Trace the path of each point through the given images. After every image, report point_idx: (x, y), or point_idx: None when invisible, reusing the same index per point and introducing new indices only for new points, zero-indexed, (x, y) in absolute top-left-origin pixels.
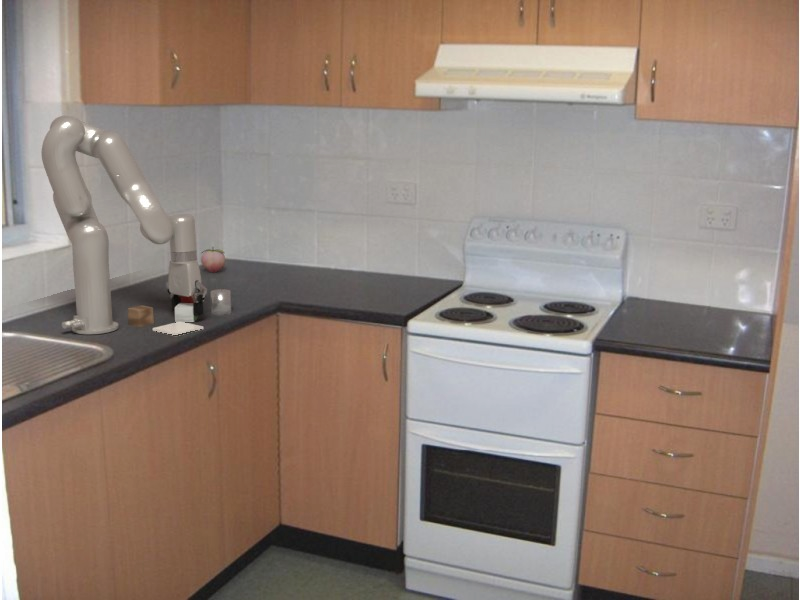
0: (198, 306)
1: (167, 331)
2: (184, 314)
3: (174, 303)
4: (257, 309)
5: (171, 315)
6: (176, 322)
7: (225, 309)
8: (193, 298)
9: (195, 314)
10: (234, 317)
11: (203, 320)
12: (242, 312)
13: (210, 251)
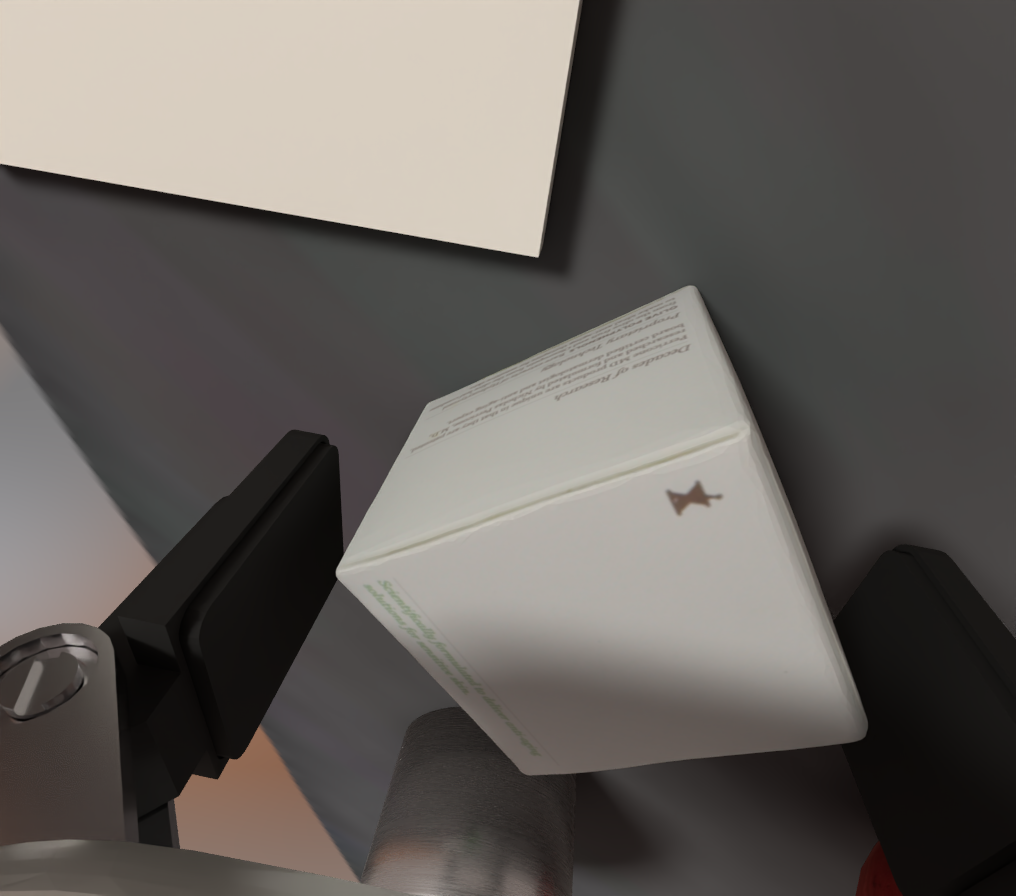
0: (145, 584)
1: None
2: (515, 415)
3: (966, 703)
4: (352, 844)
5: (988, 596)
6: (545, 143)
7: (393, 781)
8: (73, 775)
9: (285, 448)
10: (278, 689)
11: None
12: (365, 790)
13: None
